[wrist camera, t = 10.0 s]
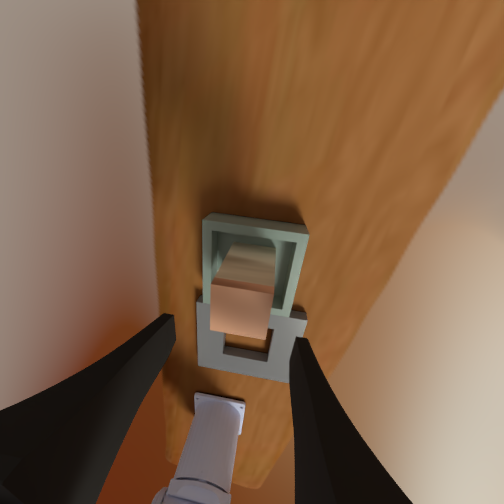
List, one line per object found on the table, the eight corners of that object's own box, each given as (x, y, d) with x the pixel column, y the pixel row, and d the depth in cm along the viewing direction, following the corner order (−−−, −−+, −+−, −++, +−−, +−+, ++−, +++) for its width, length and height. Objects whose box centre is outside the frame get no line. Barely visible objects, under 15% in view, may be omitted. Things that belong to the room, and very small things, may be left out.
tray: (288, 300, 21) (289, 317, 19) (210, 288, 22) (202, 302, 20) (305, 224, 18) (309, 234, 15) (211, 212, 18) (202, 219, 16)
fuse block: (269, 283, 20) (265, 339, 14) (231, 277, 20) (210, 329, 14) (275, 247, 18) (274, 294, 12) (233, 241, 19) (210, 284, 12)
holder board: (288, 373, 27) (288, 383, 26) (201, 357, 27) (198, 365, 26) (306, 312, 22) (307, 320, 21) (200, 295, 23) (196, 301, 22)
